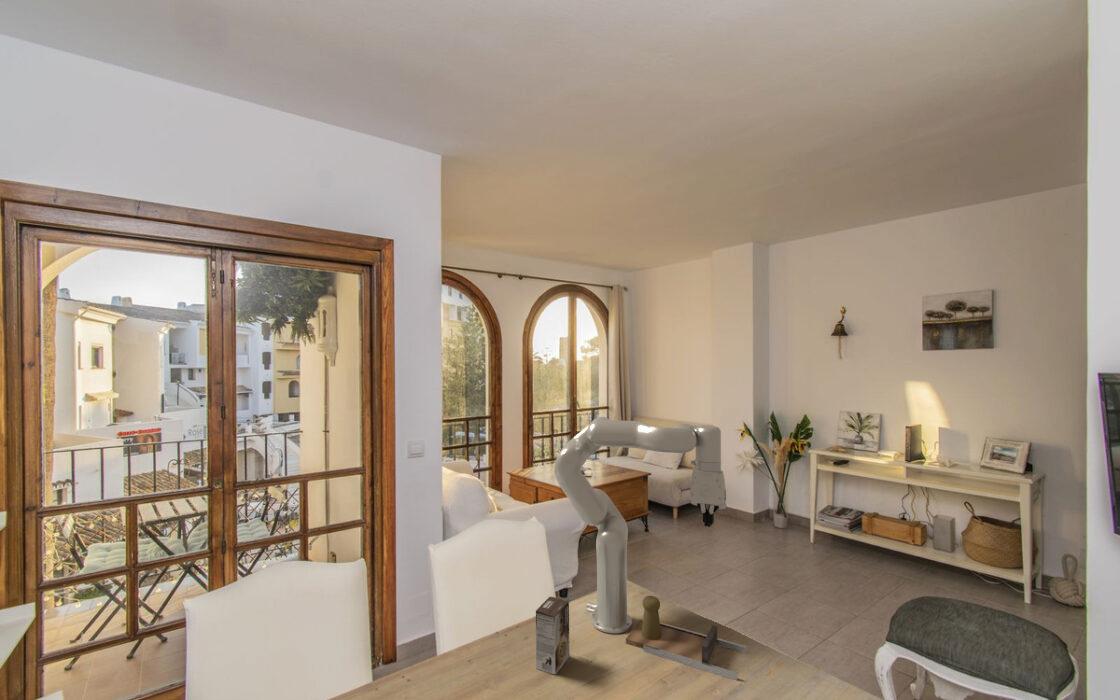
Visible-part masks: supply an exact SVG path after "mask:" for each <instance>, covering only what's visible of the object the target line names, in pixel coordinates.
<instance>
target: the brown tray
mask: <svg viewBox="0 0 1120 700" xmlns="http://www.w3.org/2000/svg"><path fill="white" fill-rule="evenodd" d="M642 624H643V619H639V621H638V622H637V624H636V625H635V626H634V627H633V629H632V630H631V631H630V632H629V634H628V635H627V636H626V638H625V644H629V645H632V646H635V647H639V648H641V649H643V646H644V644H645V645H648V646H651V647H655V648H658V649H661V650H665V651H668V652H671V653H674V654H678V655H681V656H684V657H688V658H691V659H694V660H697V661H701V662H704V663H707V664H710V663H711V662H712V659H713V656H714V654H715V652H716V649H717V647H718V645H717V638H718V626H716V625H713V624H712V625H711V627H710V629H709V631H708V633H707V634H706V635H707V637H706V638H703V637H699V636H696V635H692V634H688V633H685V632H681V631H678V630H674V629H671V628H667V627H663V626H660V627H661V635H662V636H661V638H660V639H657V640H649V639H646V638H644V637H643V636H642V634H641V632H642Z"/></svg>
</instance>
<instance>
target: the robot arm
mask: <svg viewBox="0 0 1120 700" xmlns="http://www.w3.org/2000/svg"><path fill="white" fill-rule="evenodd" d="M602 447H607V448H609V447H610V448H626V449H627V448H628V449H638V450H642V451H643V450H644V451H645V450H646V451H653V452H659V453H672V454H686V453H690V452H691V451H692V450H694V449H695V459H694V460H691V461H690V465H691V466H694V468H693V469H692V473H691V477H690V478H691V480H690V490H689V491H690V492H689V493H690V494H689V499H690V504H691V505H693V506H697V507H698V509H700V511H701V513H702V522H703V523H704V525H703V526H704V527H708V528H710V527H711V526H712V525H713V524H714V523H715V519H714V518H715V513H716V512H717V511H718V510H725V509H726V508H727V502H726V501H727V500H726V499H727V489H726V481H725V474H724V471H723V470H722V461H721V460H722V458H721V457H722V451H721V450H722V432H721V429H720V427H719V426H715V425H709V424H706V425H705V424H704V425H695V424H694V425H693V424H688V423H679V424H676V425H674V426H672V427H662V426H661V427H660V426H654V425H650V424H647V423H645V422H642V421H638V420H622V419H621V420H620V419H619V420H617V419H616V420H615V419H610V418H608V417H606V416H598V417H596V418H594V419H593V420H592V421H591V422H589V424H588V425H587V426H585V428H583V429H582V430H581V431H580V432H578V433H576V435H574V437H572V438H571V439H570V440H568V441H567V443H566V444H565V445H564V446H563V447H562V448H561V450H560V452H559V453H558V455H557V456H556V459H555V462H554V467H553V469H554V470H553V471H554V476H555V480H556V481H557V483H558V486H559V487H560V488H561V490H562V492H563V493H564V494H565V496H566V497H567V499H568V500H569V502H570V504H571V505H572V507H573V509H575V511H576V513H577V514H578V516H579V517H580V518H581V520H582V521H583V522H584V523H585V524H587V526H590V527H596V528H597V535H596V539H595V540H596V542H595V546H596V598H597V599H596V603H593V602H589V601H588V602H587V603H586V613H590V614H593V616H592V625H593V627H594V628H596V630H599V631H600V632H603V633H607V634H621V633H625V632H627V631H628V630H631V628H632V625H633V619H632V617H631V616H630V615H629V614H628V554H627V553H628V537H629V535H628V534H629V527H628V524H627V521H626V520H625V518H624V516H623V515H622V514H621V512H620V511H619V510H618V508H617V506H616V505H615V504H614V503H613V500H612V499H611V498H610V497H609V496H608V494H607V493H606V492H605V491H604V490H602V489H599V488H594V487H593V486H592V485H591V483H590V481H589V480H588V478H587V477H586V476H585V475H584V474H583V473H582V467H583V466H585V463H586V462H587V460H588V459H589V458H590V457H591V456H592V455H594V454H595V453H596V452H597V451H598V450H599V449H601V448H602ZM708 506H709V509H708Z"/></svg>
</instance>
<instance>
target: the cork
mask: <svg viewBox="0 0 1120 700" xmlns="http://www.w3.org/2000/svg"><path fill="white" fill-rule="evenodd" d="M642 606H643V609H644V610H643V616H642V617H643V619H642V621H643V624H642V632H641V634H642V636H643V637H644V638H646V639H649V640H657V639H660V638H661V636H662V635H661V627H660V622H661V621H660V613H659V610H660V607H661V601H660V599H659V598H658V597H656V596H653V595H647V596H645V597H643V599H642Z"/></svg>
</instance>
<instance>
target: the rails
mask: <svg viewBox="0 0 1120 700" xmlns="http://www.w3.org/2000/svg"><path fill="white" fill-rule="evenodd" d="M660 626H663V627H667V628H671V629H674V630H678V631H681V632H685V633H688V634H692V635H696V636H699V637H703V638H706V637H707V635H708V634H704V633H701V632H697V631H693V630H689V629H686V628H681V627H678V626H675V625H671V624H667V623H664V622H661V621H660ZM717 646H719V647H723V648H727V649H730V650H734V651H736V652H737V651H738V652H741V653H745V654H747V650H748V649H747V646H746V645H744V644H740V643H736V642H732V641H729V640H725V639H722V638H719V637H717ZM642 650H643V652H644V653H647V654H651V655H654V656H657V657H660V658H664V659H667V660H670V661H673V662H676V663H680V664H683V665H687V666H690V667H693V668H696V669H700V670H702V671H706V672H708V673H712V674H715V675H718V676H722V677H725V678H728V679H731V680H734V681H738V672H736V671H733V670H730V669H726V668H723V667H722V666H721V667H720V666H717V665H713V664H710V663H709V664H707V663H704V662H701V661H697V660H694V659H691V658H688V657H684V656H681V655H678V654H674V653H671V652H668V651H665V650H661V649H658V648H655V647H651V646H648V645H645V644H644V646H643V648H642Z"/></svg>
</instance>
